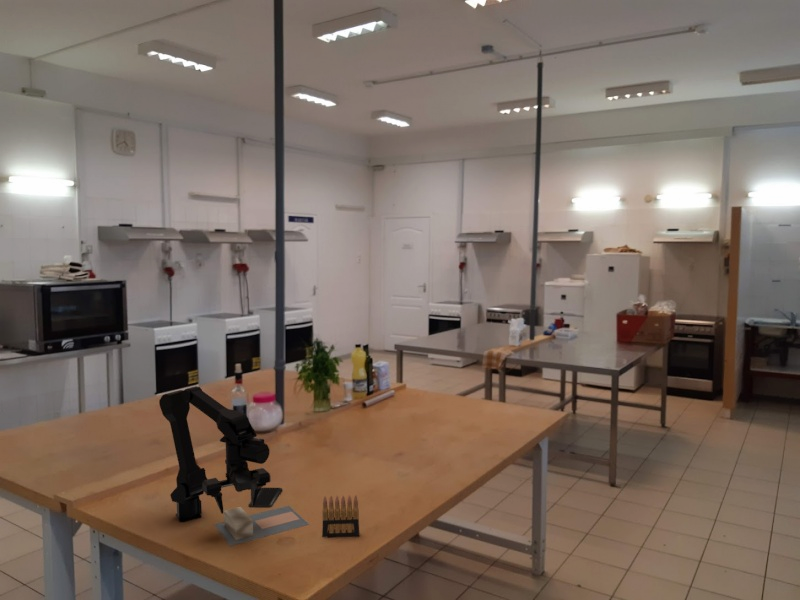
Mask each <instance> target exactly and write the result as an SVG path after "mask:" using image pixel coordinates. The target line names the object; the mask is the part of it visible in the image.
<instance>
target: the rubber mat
mask: <svg viewBox="0 0 800 600" xmlns="http://www.w3.org/2000/svg"><path fill="white" fill-rule="evenodd" d="M248 516H249V517H250V518H251V519H252V520H253V536H249V537H245V538H242V539H238V540H236V539H235V538H234V537H233V535H232V534H231V533H230V532H229V530H228V529H227V528H226V526H225V522H224V521H222V522H217V523H214V524H213V525H214V526H215V528H216V529H217V531H218V532H219V534H220V535H221V537H223V539H224V540H225V541H226V543H227V544H228V545H229V547H231V546H236V545H239V544H243V543H247V542H250V541H253V540H257V539H261V538H265V537H269V536H272V535H276V534H280V533H283V532H287V531H290V530H293V529H298V528H301V527H305V526H308V525H310V524H309V523H308V521H306V520H305V519H304V518H303V517H302V516H301V515H300V514H299V513H298V512H297V511H296V510H294V509H293V508H292V506H290V505H285V506H282V507H278V508H274V509H273V508H272V509H270V510H266V511H261V512H258V513H253V514H250V515H248Z"/></svg>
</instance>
